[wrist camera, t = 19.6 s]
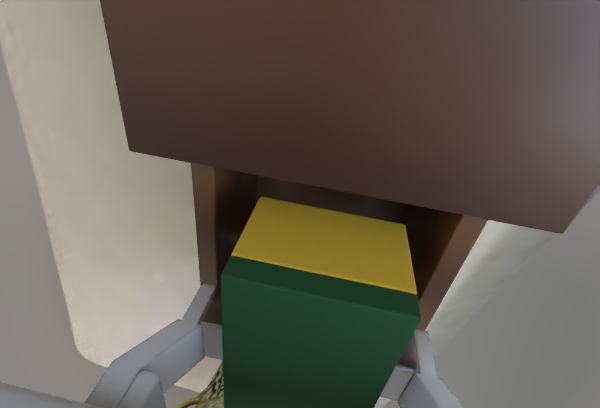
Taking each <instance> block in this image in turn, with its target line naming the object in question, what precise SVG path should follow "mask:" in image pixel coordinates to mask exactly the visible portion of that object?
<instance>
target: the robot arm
mask: <svg viewBox="0 0 600 408" xmlns="http://www.w3.org/2000/svg"><path fill="white" fill-rule="evenodd" d="M204 356H207V357H212V358H217V359H222V360H223V351H222V311H221V287H220V286H216V285H212V284H207V283H203V284H202V285H201V286H200V288H199V290H198V292H197V294H196V295H195V297H194V299H193V301H192V303H191V305H190V306H189V308H188V310H187V312H186V314H185V315H184V317H183V319H182V320H179V319H178V320H176V321H175V322H173V323H171V324H170V325H168V326H167V327H165V328H164V329H162V330H160V331H159V332H157V333H156V334H154V335H153V336H151V337H150V338H148V339H146V340H145V341H143V342H142V343H140V344H139V345H137V346H135V347H134V348H132V349H131V350H129V351H128V352H126V353H125V354H123V355H121V356H120V357H118V358H117V359H115V360H114V361H113V362H112V363H111V364H110V366H109V367H108V369H107V371H106V372H105V374H104V375H103V376H102V378H101V379H100V381H99V382H98V384H97V385H96V387H95V388H94V389H93V391H92V392H91V394H90V396H89V397H88V398H87V400H86V401H85V403H83V402H79V401H75V400H71V399H67V398H63V397H59V396H54V395H51V394H46V393H42V392H38V391H34V390H30V389H26V388H22V387H18V386H14V385H10V384H6V383H2V382H0V408H166V405H165V400H164V396H163V394H164V393H165V392H166V391H167V390H168V389H169V388H170V387H171V386H173V385H174V384H175V383H176V382H177V381H178V380H179V379H180V378H182V377H183V376H184V375H185V374H186V373H187V372H188V371H189V370H191V369H192V368H193V367H194V366H195V365H196V364H197V363H198V362H200V361H201V360H202V359H203V358H204ZM380 396H381V397H385V398H389V399H393V400H397V401H398V404H399V406H400V407H401V408H463V407H462V405H461V404H460V403H459V401H458V400H457V399H456V397H455V396H454V395H453V393H452V392H451V391H450V389H449V388H448V387H447V385H446V384H445V383H444V381H443V380H442V379H441V378H437V374H436V369H435V364H434V358H433V353H432V348H431V343H430V338H429V334H428V332H427V331H424V330H419V329H416V330H415V332H414V334H413V336H412V338H411V339H410V341H409V343H408V345H407V347H406V349H405V351H404V352H403V354H402V356H401V358H400V360H399V362H398V364H397V365H396V367H395V369H394V371H393V373H392V375H391V376H390V378H389V380H388V382H387V384H386V386H385V388H384V389H383V391H382V393H381V395H380Z"/></svg>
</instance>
